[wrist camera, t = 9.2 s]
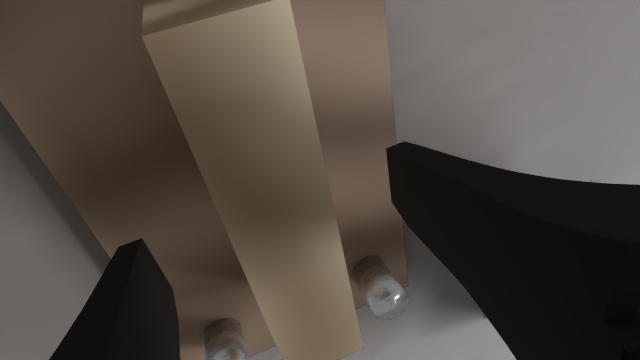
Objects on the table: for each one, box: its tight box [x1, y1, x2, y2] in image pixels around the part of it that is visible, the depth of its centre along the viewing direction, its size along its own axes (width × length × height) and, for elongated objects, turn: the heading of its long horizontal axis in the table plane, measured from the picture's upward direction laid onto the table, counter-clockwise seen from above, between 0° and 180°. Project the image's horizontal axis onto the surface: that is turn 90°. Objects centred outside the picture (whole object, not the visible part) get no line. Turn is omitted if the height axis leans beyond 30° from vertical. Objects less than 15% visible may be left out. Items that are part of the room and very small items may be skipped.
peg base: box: [0, 0, 409, 360], centre depth 14 cm, size 22×12×4 cm, turn 11°
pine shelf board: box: [142, 0, 364, 360], centre depth 13 cm, size 3×12×5 cm, turn 11°
